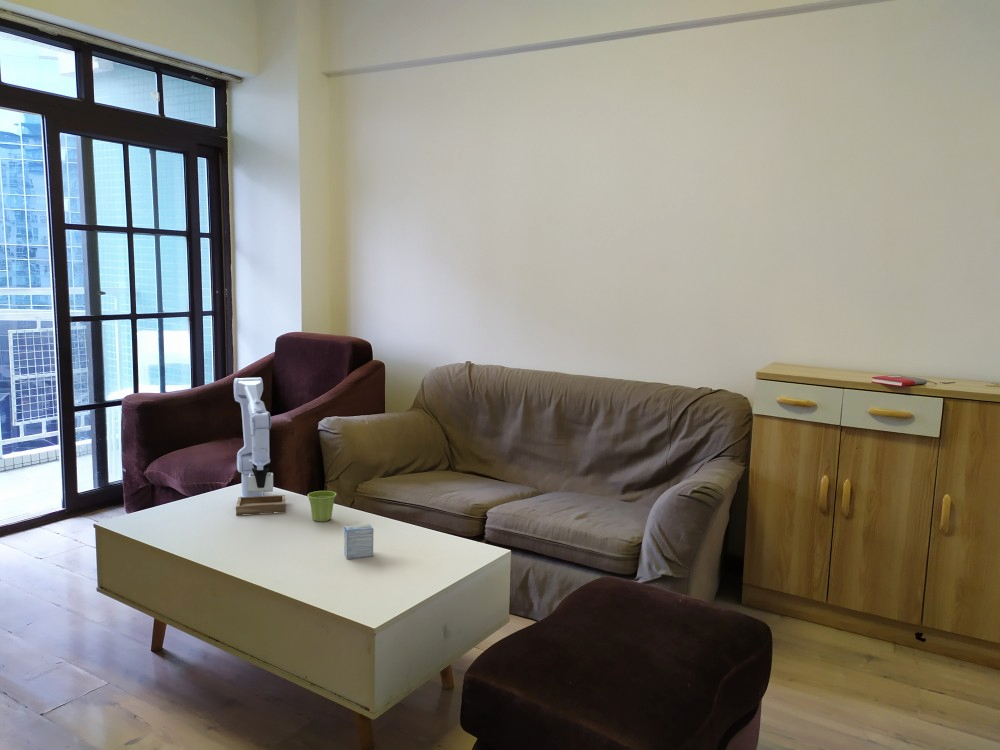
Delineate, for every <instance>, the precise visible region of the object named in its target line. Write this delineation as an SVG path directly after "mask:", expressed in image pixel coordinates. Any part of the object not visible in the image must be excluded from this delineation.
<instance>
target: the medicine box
mask: <svg viewBox="0 0 1000 750" xmlns="http://www.w3.org/2000/svg"><path fill="white" fill-rule="evenodd" d="M343 541H344V542H343V545H344V546H343V552H344V556H345V558H346V560H349V559H352V560H353V559H359V558H360V559H361V558H367V557H374V527H373V526H372V524H370V523H364V524H362V523H361V524H353V525H345V526H344V527H343Z"/></svg>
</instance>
